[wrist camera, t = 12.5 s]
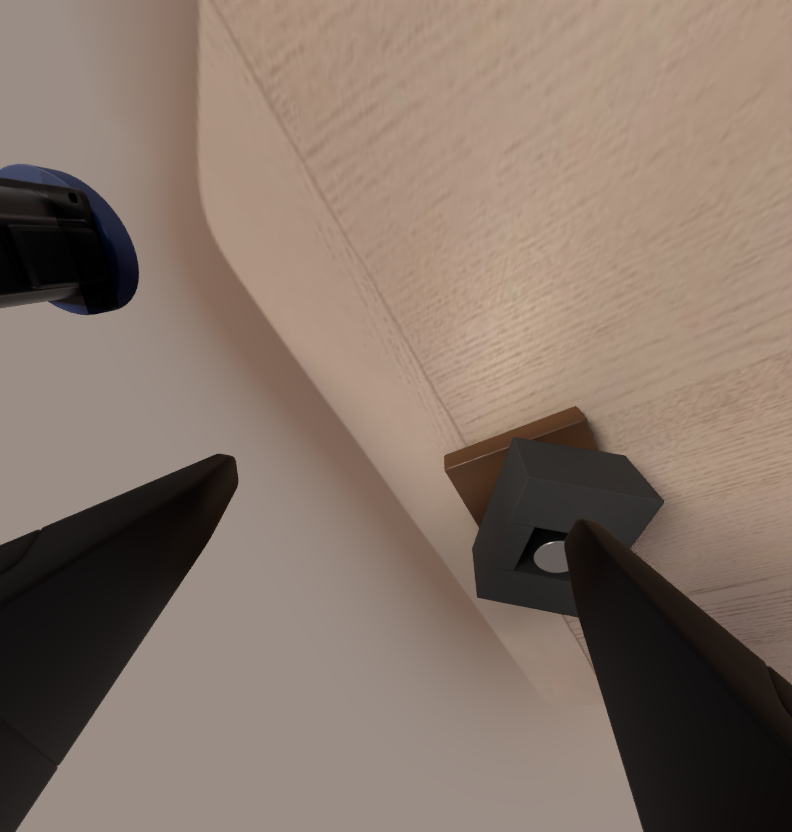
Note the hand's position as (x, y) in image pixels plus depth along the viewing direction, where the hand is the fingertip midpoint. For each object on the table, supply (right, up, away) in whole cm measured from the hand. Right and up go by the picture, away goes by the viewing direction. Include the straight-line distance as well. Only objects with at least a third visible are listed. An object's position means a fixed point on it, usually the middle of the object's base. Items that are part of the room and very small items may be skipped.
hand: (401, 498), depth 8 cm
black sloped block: (+9, -3, +11) cm, 14 cm away
